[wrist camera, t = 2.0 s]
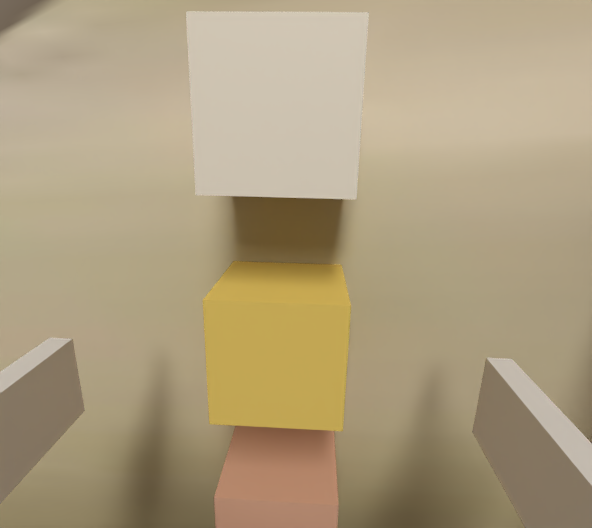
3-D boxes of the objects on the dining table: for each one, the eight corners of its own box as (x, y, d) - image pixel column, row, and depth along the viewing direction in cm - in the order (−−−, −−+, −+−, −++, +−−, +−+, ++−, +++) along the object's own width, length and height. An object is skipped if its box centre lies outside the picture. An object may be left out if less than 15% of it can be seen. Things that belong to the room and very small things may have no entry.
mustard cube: (335, 360, 19) (342, 431, 14) (236, 355, 19) (209, 424, 14) (341, 264, 17) (350, 306, 12) (234, 260, 17) (202, 300, 13)
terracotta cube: (328, 494, 21) (332, 595, 16) (241, 489, 21) (218, 586, 16) (333, 419, 20) (338, 505, 15) (238, 414, 20) (214, 497, 15)
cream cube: (344, 186, 16) (356, 199, 11) (231, 184, 16) (195, 195, 12) (351, 59, 15) (368, 11, 10) (227, 57, 15) (186, 11, 10)
